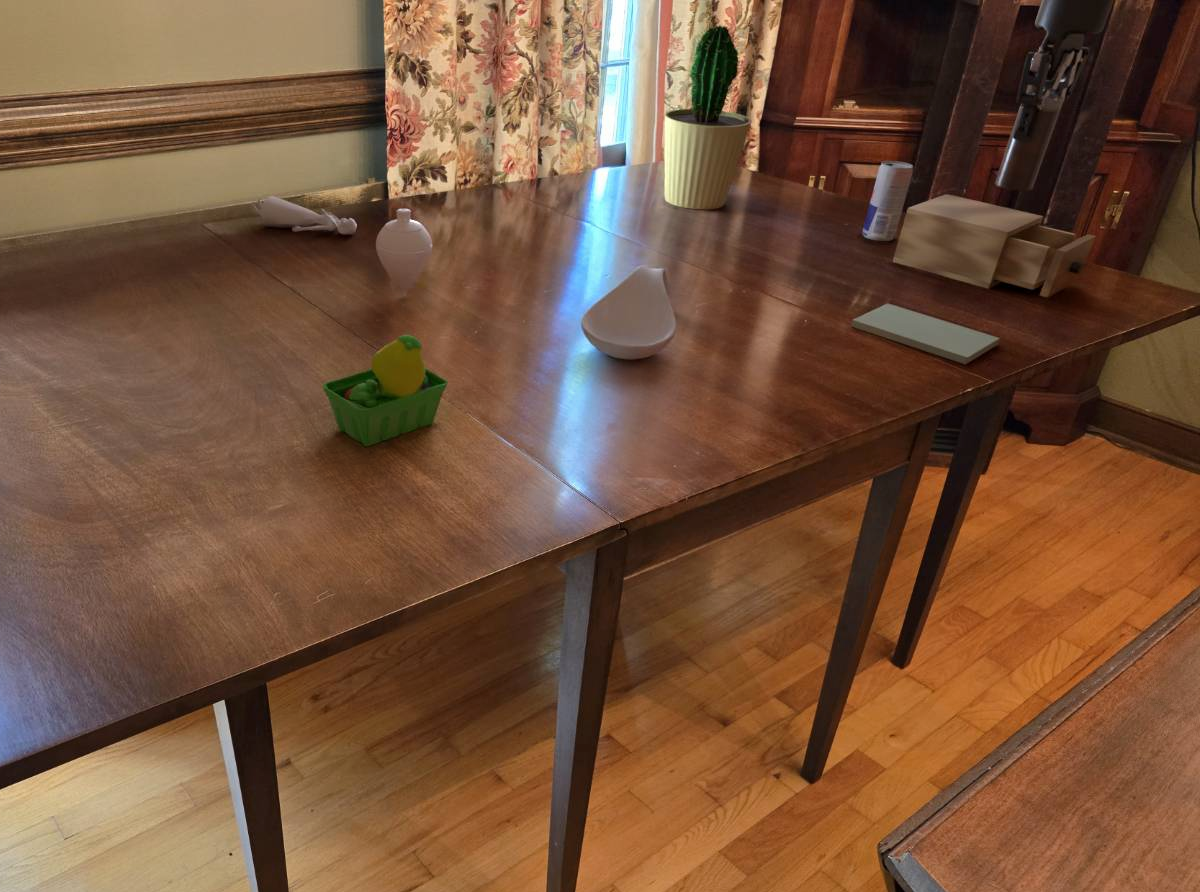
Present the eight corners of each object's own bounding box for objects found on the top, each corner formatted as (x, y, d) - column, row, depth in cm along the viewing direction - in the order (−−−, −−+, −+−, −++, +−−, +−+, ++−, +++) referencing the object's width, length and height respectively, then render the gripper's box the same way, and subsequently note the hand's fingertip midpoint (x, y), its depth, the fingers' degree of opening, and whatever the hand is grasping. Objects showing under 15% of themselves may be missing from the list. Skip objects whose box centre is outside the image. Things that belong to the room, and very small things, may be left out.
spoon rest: (663, 377, 115) (672, 321, 111) (568, 362, 118) (573, 306, 114) (690, 310, 134) (699, 259, 130) (608, 298, 137) (614, 248, 133)
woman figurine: (270, 185, 162) (369, 204, 159) (271, 211, 165) (369, 231, 162) (237, 203, 153) (342, 224, 150) (238, 230, 155) (341, 252, 152)
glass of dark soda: (1037, 187, 127) (1070, 97, 121) (1023, 192, 125) (1055, 101, 118) (1003, 179, 130) (1033, 91, 124) (988, 184, 127) (1018, 95, 121)
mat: (997, 345, 128) (1000, 338, 127) (965, 364, 122) (967, 357, 121) (885, 309, 137) (887, 303, 136) (850, 326, 131) (852, 319, 131)
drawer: (1086, 282, 147) (1104, 237, 143) (1056, 300, 140) (1074, 254, 136) (985, 255, 157) (999, 213, 153) (951, 271, 149) (965, 227, 145)
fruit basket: (406, 399, 108) (406, 302, 102) (457, 428, 103) (460, 329, 96) (321, 428, 102) (315, 327, 95) (371, 461, 96) (367, 357, 90)
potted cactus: (735, 216, 173) (770, 29, 156) (650, 207, 176) (674, 23, 159) (737, 194, 186) (769, 19, 168) (657, 186, 188) (680, 13, 171)
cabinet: (1023, 270, 154) (1043, 216, 149) (988, 289, 146) (1008, 232, 141) (930, 245, 163) (946, 193, 158) (892, 261, 155) (907, 207, 150)
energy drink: (872, 230, 169) (891, 159, 162) (900, 238, 166) (920, 165, 159) (855, 235, 166) (874, 163, 159) (883, 243, 163) (903, 170, 156)
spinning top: (366, 300, 133) (364, 212, 126) (393, 283, 138) (392, 198, 132) (415, 310, 130) (415, 221, 123) (441, 293, 136) (442, 207, 129)
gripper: (1093, -9, 108) (1037, 151, 117) (1137, -13, 116) (1081, 136, 126) (1025, -16, 112) (977, 139, 122) (1072, -19, 120) (1023, 126, 130)
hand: (1030, 137), depth 124 cm, fingers closed on glass of dark soda, 4 cm apart
